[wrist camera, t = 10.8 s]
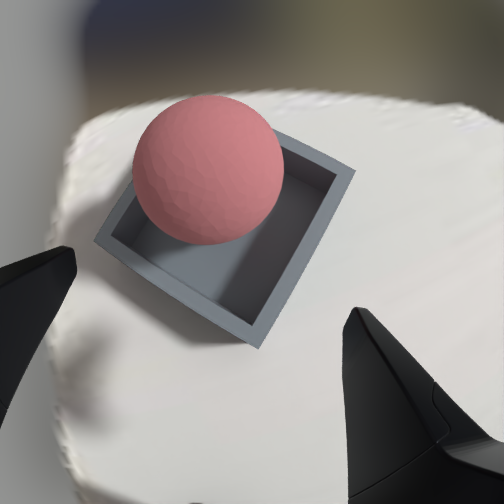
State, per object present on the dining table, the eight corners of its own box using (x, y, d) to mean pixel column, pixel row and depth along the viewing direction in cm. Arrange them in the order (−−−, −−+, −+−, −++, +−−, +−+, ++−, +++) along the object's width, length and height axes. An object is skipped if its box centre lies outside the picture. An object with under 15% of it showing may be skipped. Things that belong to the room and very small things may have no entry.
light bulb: (276, 272, 21) (287, 220, 9) (177, 267, 22) (87, 217, 10) (279, 179, 23) (287, 63, 11) (188, 178, 23) (130, 73, 11)
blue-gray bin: (259, 342, 21) (258, 349, 17) (121, 254, 23) (93, 241, 19) (340, 195, 23) (355, 170, 19) (206, 129, 25) (196, 98, 21)
